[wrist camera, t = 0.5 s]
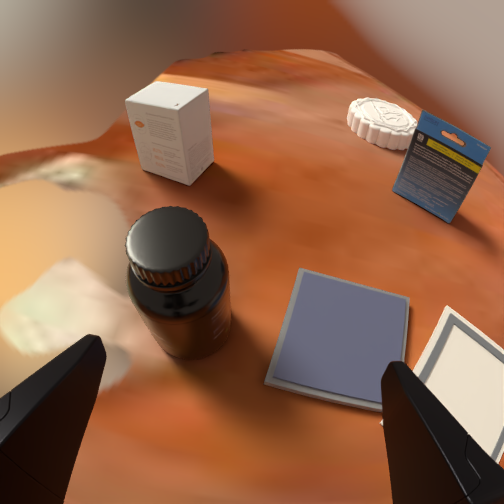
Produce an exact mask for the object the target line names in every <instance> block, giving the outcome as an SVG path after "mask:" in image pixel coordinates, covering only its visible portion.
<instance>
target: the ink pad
mask: <svg viewBox="0 0 504 504" xmlns="http://www.w3.org/2000/svg"><path fill="white" fill-rule="evenodd" d="M408 315H409V297H405V296H402V295H398V294H394V293H391V292H387V291H383V290H380V289H376V288H372V287H369V286H365V285H361V284H358V283H354V282H350V281H347V280H343V279H339V278H336V277H332V276H328V275H325V274H321V273H317V272H314V271H310V270H306V269H303V268H299V271H298V274H297V278H296V281H295V285H294V288H293V291H292V295H291V298H290V301H289V305H288V308H287V311H286V315H285V318H284V321H283V325H282V328H281V331H280V334H279V337H278V341H277V344H276V347H275V350H274V353H273V356H272V359H271V362H270V366H269V369H268V372H267V375H266V378H265V381H264V385H268V386H271V387H275V388H278V389H282V390H286V391H289V392H293V393H297V394H300V395H304V396H308V397H312V398H316V399H320V400H325V401H329V402H333V403H338V404H342V405H347V406H351V407H356V408H361V409H366V410H371V411H377V412H382V397H381V378H382V376H383V374H384V372H385V370H386V368H387V366H388V364H389V363H390V362H391V361H403V362H404V357H405V349H406V339H407V328H408Z"/></svg>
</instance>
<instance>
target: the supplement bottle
mask: <svg viewBox="0 0 504 504" xmlns="http://www.w3.org/2000/svg"><path fill="white" fill-rule="evenodd" d="M125 247H126V254H127V256H128V258H129V261H130V262H129V264H128V267H127V272H126V286H127V291H128V294H129V297H130V299H131V301H132V303H133V304H134V306H135V308H136V309H137V311H138V313H139V314H140V316H141V318H142V319H143V321H144V323H145V324H146V326H147V327H148V329H149V330H150V332H151V334H152V335H153V337H154V338H155V340H156V341H157V343H158V344H159V345H160V346H161V347H162V348H163V349H164V350H165V351H166V352H167V353H169V354H171V355H172V356H175V357H177V358H181V359H187V360H194V359H200V358H204V357H207V356H209V355H211V354H212V353H214V352H215V351H217V350H218V349H219V348H220V347H221V346H222V345H223V344H224V342H225V341H226V339H227V337H228V335H229V332H230V327H231V305H230V284H229V270H228V264H227V261H226V258H225V256H224V254H223V252H222V250H221V249H220V248H219V247H218V245H217V244H216V243H215V242H213V241H212V240H211V239H209V232H208V229H207V226H206V224H205V223H204V222H203V219H202V218H201V217H199V216H198V214H197V213H194V212H193V211H192V210H188V209H186V208H181V207H178V206H176V207H172V206H169V207H162V208H159V209H154V210H153V211H149V212H148V213H146V214H145V215H142V216H141V217H140V219H138V220H136V222H135V223H134V224H133V225H132V226H131V229H130V230H129V231H128V236H127V237H126V244H125Z"/></svg>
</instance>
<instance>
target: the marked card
mask: <svg viewBox="0 0 504 504" xmlns="http://www.w3.org/2000/svg"><path fill="white" fill-rule="evenodd" d="M413 372H414V373H415V374H416V376H417V377H418V378H419V379H420V380H421V381H422V382H423V383H424V384H425V385H426V386H427V388H428V389H429V390H430V391H431V392H432V393H433V394H434V395H435V396H436V397H437V398H438V400H439V401H440V402H441V403H442V404H443V405H444V406H445V407H446V408H447V410H448V411H449V412H450V413H451V414H452V415H453V416H454V417H455V418H456V420H457V421H458V422H459V423H460V424H461V425H462V426H463V428H464V429H465V430H466V431H467V432H468V434H470V435H471V436H472V438H473V439H474V440H475V441H476V442H477V443H478V444H479V445H480V446H481V448H482V449H483V450H484V451H485V452H486V453H487V454H488V455H489V456H490V457H491V458H492V459H493V460H494V461H495V462H497V463H499V461H500V459H501V456H502V454H503V452H504V350H503V349H502V348H501V347H500V346H498V345H497V344H496V343H495V342H494V341H492V340H491V339H490V338H489V337H487V336H486V335H485V334H484V333H482V332H481V331H480V330H479V329H477V328H476V327H475V326H473V325H472V324H471V323H470V322H468V321H467V320H466V319H464V318H463V317H462V316H461V315H459V314H458V313H457V312H455V311H454V310H453V309H451V308H450V307H449V306H447V305H446V306H445V309H444V311H443V313H442V315H441V317H440V319H439V321H438V324H437V326H436V328H435V330H434V332H433V334H432V336H431V338H430V340H429V342H428V344H427V345H426V347H425V349H424V351H423V353H422V355H421V357H420V359H419V360H418V362H417V364H416V366H415V368H414V369H413ZM380 424H381V425H382V426H383V419H382V421H381V422H380Z"/></svg>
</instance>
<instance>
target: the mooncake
mask: <svg viewBox="0 0 504 504" xmlns="http://www.w3.org/2000/svg"><path fill="white" fill-rule="evenodd" d="M347 121H348V126H350V127H351V130H352V131H353V132H355V133H357V135H358V136H359V137H360V138H362V139H366V140H367V141H368V142H369V143H372V144H376V145H378V146H379V147H382V148H386V147H387V148H389V149H391V150H396V149H398V150H404V149H405V148H406V149H408V147H409V145H410V142H411V139H412V136H413V133H414V130H415V128H416V127H417V121H416V120H415V119H414V118H413V117H412V115H411V114H409V113H407V111H406V110H405V109H403V108H400V107H399V106H398V105H396V104H392V103H388V102H386V101H382V100H380V99H377V98H375V99H372V98H364V99H357V100H356V101H353V102H352V104H351V105H350V107H349V112H348V116H347Z"/></svg>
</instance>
